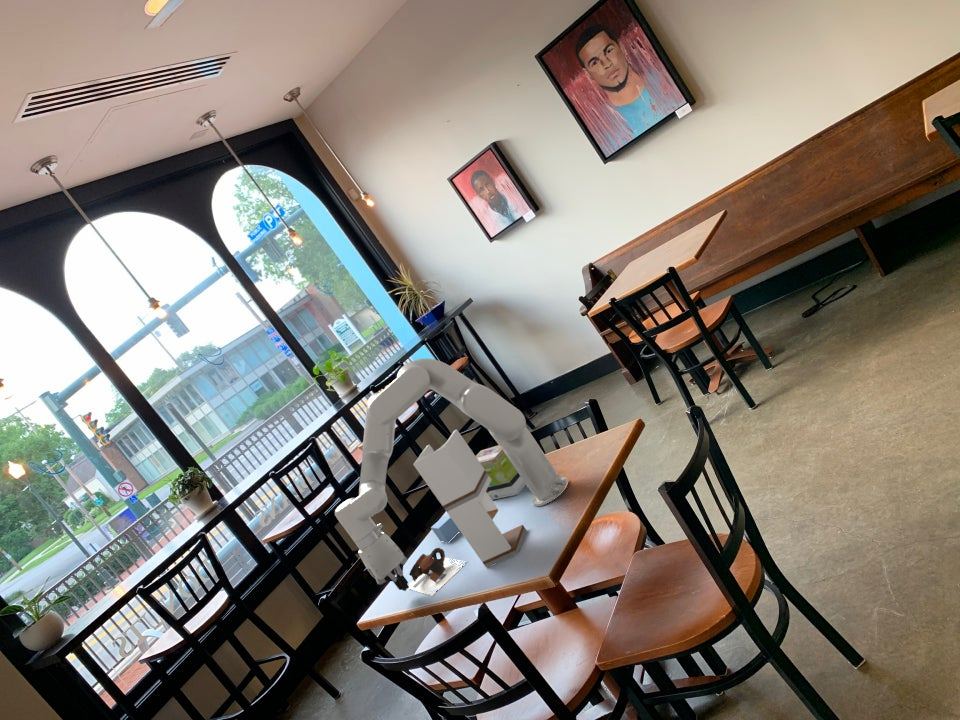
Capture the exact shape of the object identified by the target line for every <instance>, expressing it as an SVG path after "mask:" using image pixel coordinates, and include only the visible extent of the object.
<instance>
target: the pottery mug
mask: <svg viewBox="0 0 960 720" xmlns="http://www.w3.org/2000/svg"><path fill="white" fill-rule="evenodd" d="M437 554H439V556H440V557H441V558H440V559H437V558H438V557H437ZM445 558H446V555H445V551H444V549H443V548H441V547H435V548H434V549H433V550H432V551H431V553H430V554H427V555H426V554H425V553H422V554H421V555H420V556H419V558H418V559H417V560H416V562H414V564H413V566H412V568H411V569H410V571H409V574H408V575H409V576H411V577H412V581H413V580H414V581H415V582H416V579H417V578H418V577H419V576H421V575H422V574H426V575H428V574H429V571H430V570H431V571H432V574H431V576H430V579H431V580H433V581H434V582H436V581H437V580H438V578H439V577H440V575H441V574H442V573H443V572H444V571H445V570H446V569H445V568H444V559H445Z"/></svg>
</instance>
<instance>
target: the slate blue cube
mask: <svg viewBox="0 0 960 720" xmlns="http://www.w3.org/2000/svg"><path fill="white" fill-rule="evenodd" d="M430 528H431V530H432V531H433V533H434V534H435V536H436V537H437V538H438V540H439V542H441V541H444V542H449V541H450V540H451V539H452V538H453V537H454V536H455V535H456V534H457V533H458V532H460V530H459V529H458V527H457V526H456V524H455V523H454V522H453V520H452V519H451V517H450V516H449V515H443V516H442V517H441V518H440V519H439V520H438V521H437V522H435V523H434V524H433V525H432V526H431V527H430ZM460 533H461V532H460ZM444 542H443V543H444Z"/></svg>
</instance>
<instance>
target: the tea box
mask: <svg viewBox="0 0 960 720" xmlns="http://www.w3.org/2000/svg"><path fill="white" fill-rule="evenodd" d="M475 456H476V458H477V459H478V461H479V462H480V463H481V465H482V466H483V468H484V469H485V471H486V472H487V474H488V475H489V477H490V478H491V479H492V480H491V482H490V484H489V486H488V488H487V490H486V492H487V494H488V495H489V497H490V498H491V500H492V501H494V500H496V499H502V498H503V499H504V498H507V497H512V496H518V495H520V493H521V492H522V490H523V489H524V488H525V487H526V486H527V485H526V484H525V482H524V481H523V479H522V478H521V476H520V475H519V473H518V472H517V470H516V469H515V467H514V466H513V464H512V463H511V462H510V460H509V458H508V457H507V455H506V454H505V453H504V451H503V450H502V448H501V447H500V446H499V444H498V445H495V446H492V447H488V448H485V449H482V450H480V451H479V452H478V453H477V454H476V455H475Z"/></svg>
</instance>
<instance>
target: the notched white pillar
mask: <svg viewBox="0 0 960 720" xmlns="http://www.w3.org/2000/svg"><path fill="white" fill-rule="evenodd" d="M413 466H414V468H415V469H416V471H417V472H418V474H419V475H420V476H421V477H422V479H423V481H425V483H426V485H427V486H428V487H429V489H430V490H431V492H432V494H433V495H434V496H435V497H436V499H437V501H438V502H439V503H440V504H441V506H442V507H443V509H444V510H445V512H446V513H447V515H448V516H450V517H451V519H452V520H453V522H454V523H455V524H456V526H457V527H458V529H459V530H460V531H461V532H460V534H462V536H463V537H464V539H465V540H466V542H467V543H468V544H469V546H471V549H472V550H473V552H475V554H476V556H477V557H478V558H479V559H480V561H481V562H482V564H483V565H484V567H485V568H486V567H488V568H489V566H490V567H492V566H494V565H496V564H498V562H499V563H501V562H502V561H505V560H507V559H509V558H511V557H515V556H516V555H518V554H520V551H521V548H522V544H523V542H524V539H525V536H526V533H527V528H526V527H525V526H524V525H523V524H521V525H519V526H517V527H515V528H512V529H510V530H508V531H506V532H504V533H502V532H501V531H500V529H499V527H498V526H497V525H496V522H494V520H493V519H494V518H495V517H496V516H497V514H498V512H499V508H498V507H497V505H496V504H495V502H494V500H491V498H490V497H489V495H488V494H487V492H486V490H487V488H488V486H489V484H490V482H491V480H492V479H491V478H490V477H489V475H488V474H487V472H486V471H485V469H484V468H483V466H482V465H481V463H480V462H479V461H478V459H477V458H476V455H475V454H474V452H473V450H472V449H471V448H470V446H469V445H468V443H467V442H466V440H465V439H464V438H463V436H462V435H461V432H459V430H458V429H455V430H453V432H452V433H451V434H450V436H449V438H447V441H445V443H443V444H442V445H441V446H440V447H439V448H438V449H435V450H434V449H433V447H432V446H431V445H430V444H428V445H426V446H425V448H424V449H423V450H422V452H421V453H420V454H419V456H418V457H417V458H416V460H415V461H414V462H413ZM500 561H501V562H500ZM495 563H496V564H495ZM493 564H494V565H493ZM491 565H492V566H491Z"/></svg>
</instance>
